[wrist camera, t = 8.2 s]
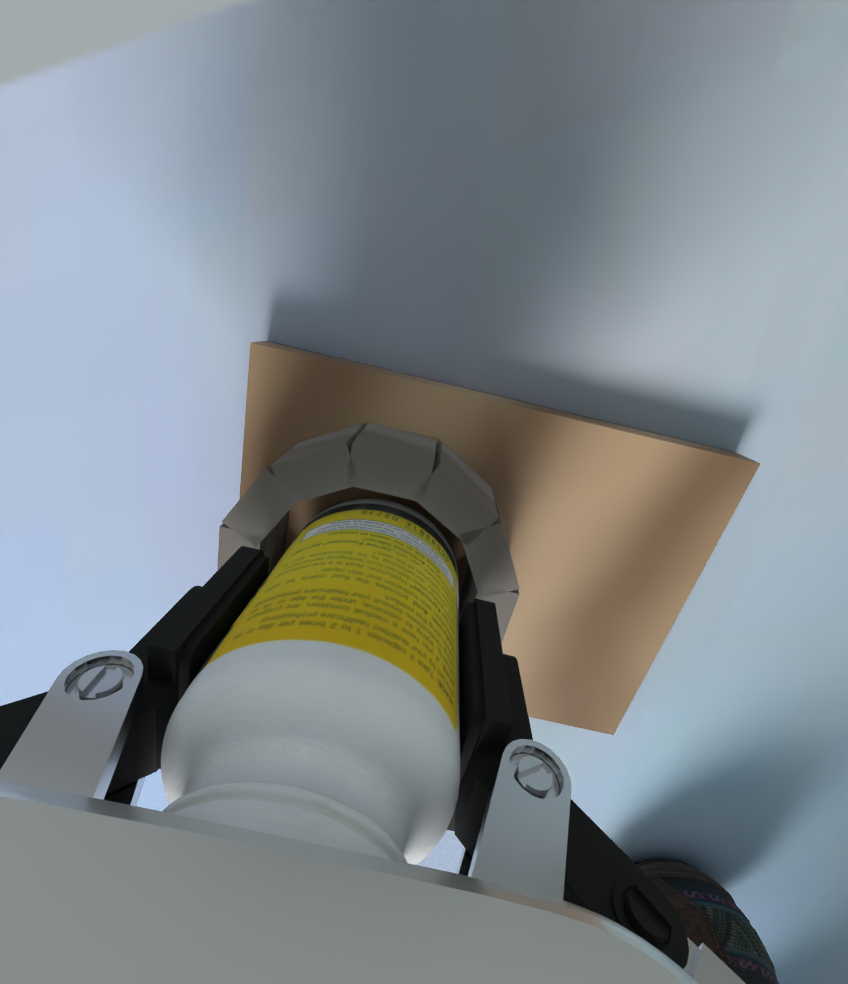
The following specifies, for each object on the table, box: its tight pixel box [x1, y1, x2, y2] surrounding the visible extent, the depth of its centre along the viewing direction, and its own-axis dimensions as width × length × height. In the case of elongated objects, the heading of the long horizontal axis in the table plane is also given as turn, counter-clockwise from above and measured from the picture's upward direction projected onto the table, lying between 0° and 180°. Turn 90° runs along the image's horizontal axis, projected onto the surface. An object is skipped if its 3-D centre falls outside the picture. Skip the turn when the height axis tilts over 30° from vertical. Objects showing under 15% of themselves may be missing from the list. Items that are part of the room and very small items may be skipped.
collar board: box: [218, 341, 760, 735], centre depth 15 cm, size 16×12×4 cm
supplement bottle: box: [161, 499, 460, 865], centre depth 10 cm, size 5×5×10 cm
